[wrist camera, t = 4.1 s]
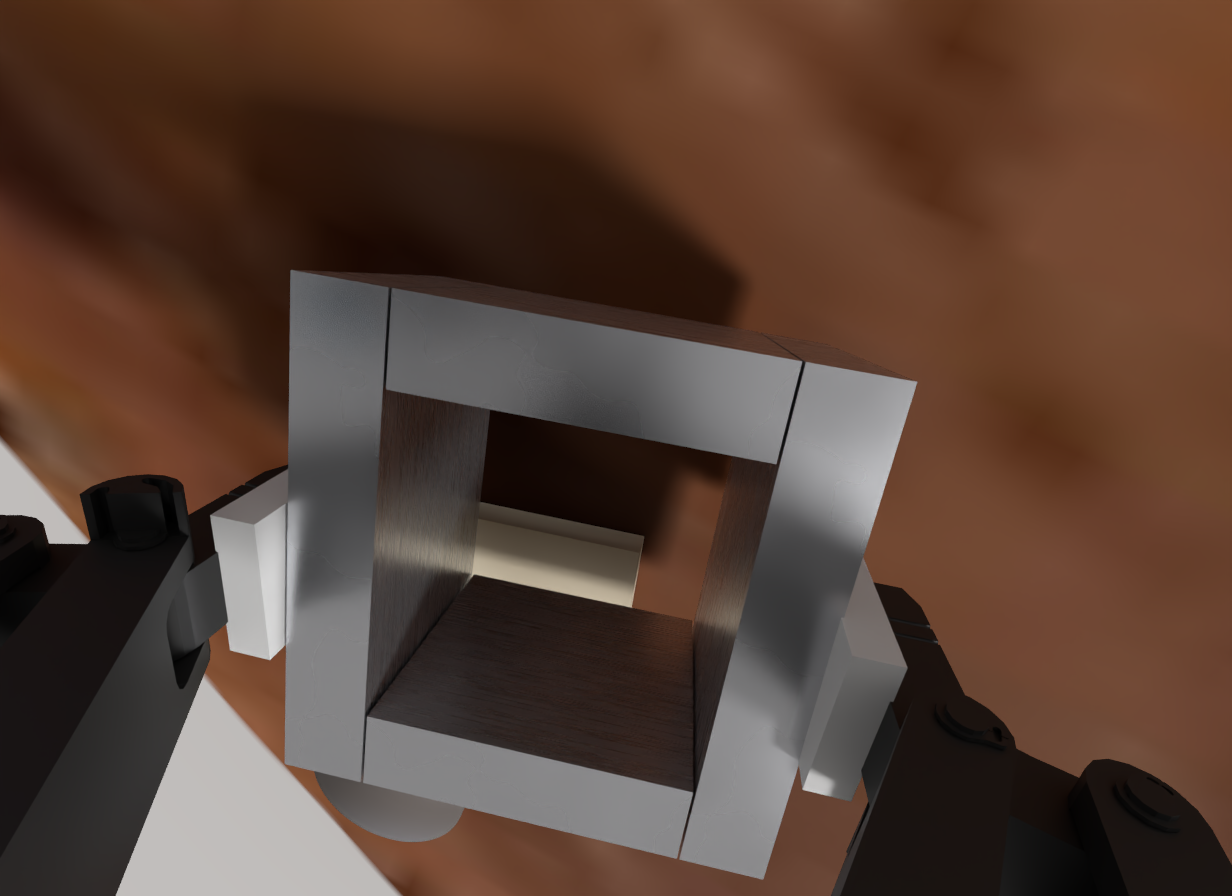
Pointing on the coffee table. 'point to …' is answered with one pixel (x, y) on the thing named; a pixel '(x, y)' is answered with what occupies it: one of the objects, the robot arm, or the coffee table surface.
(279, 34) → the coffee table surface
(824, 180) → the coffee table surface
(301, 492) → the grey hollow square block
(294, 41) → the coffee table surface
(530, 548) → the cream square tile
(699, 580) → the coffee table surface
